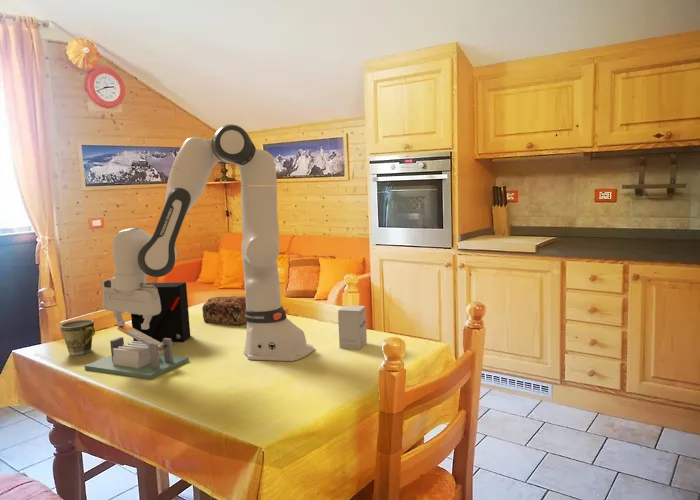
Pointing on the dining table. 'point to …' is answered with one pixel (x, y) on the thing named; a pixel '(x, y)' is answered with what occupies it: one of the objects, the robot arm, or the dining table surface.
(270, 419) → the dining table surface
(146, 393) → the dining table surface
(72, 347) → the ceramic cup
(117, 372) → the board
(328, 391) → the dining table surface
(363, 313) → the supplement box
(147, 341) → the grey flat bar
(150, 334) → the electrical component
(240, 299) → the bread
